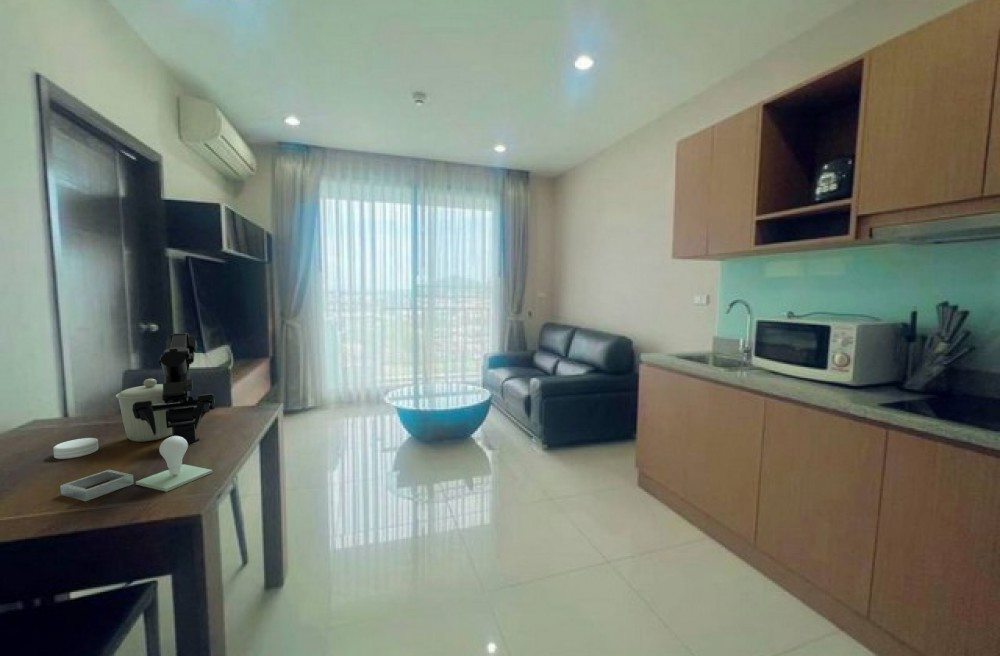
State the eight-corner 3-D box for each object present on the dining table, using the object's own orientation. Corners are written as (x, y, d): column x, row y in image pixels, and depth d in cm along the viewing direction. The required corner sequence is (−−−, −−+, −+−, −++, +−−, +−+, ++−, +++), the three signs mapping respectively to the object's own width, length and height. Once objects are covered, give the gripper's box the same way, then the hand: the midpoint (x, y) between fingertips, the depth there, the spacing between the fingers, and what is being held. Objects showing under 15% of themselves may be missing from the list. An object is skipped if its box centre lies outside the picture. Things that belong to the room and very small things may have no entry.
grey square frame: (61, 494, 103) (60, 485, 102) (109, 478, 112) (109, 469, 112) (85, 501, 99) (84, 491, 99) (133, 483, 109) (132, 474, 109)
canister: (174, 442, 140) (171, 382, 138) (106, 448, 133) (103, 385, 132) (192, 426, 157) (189, 372, 155) (133, 432, 150) (130, 375, 149)
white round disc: (55, 453, 130) (54, 442, 130) (98, 445, 137) (97, 435, 137) (52, 462, 123) (51, 451, 123) (98, 453, 130) (98, 443, 130)
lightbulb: (161, 482, 108) (159, 442, 107) (160, 474, 113) (158, 436, 112) (190, 475, 112) (188, 436, 111) (187, 468, 117) (186, 431, 116)
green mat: (135, 484, 109) (135, 481, 108) (183, 466, 120) (183, 464, 120) (166, 491, 105) (166, 488, 105) (212, 472, 116) (212, 470, 116)
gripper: (131, 374, 113) (126, 423, 106) (212, 367, 124) (214, 412, 116) (137, 394, 121) (133, 442, 113) (214, 387, 131) (215, 430, 124)
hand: (175, 431), depth 116 cm, fingers open, 9 cm apart
